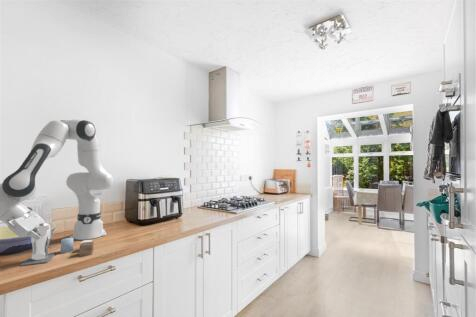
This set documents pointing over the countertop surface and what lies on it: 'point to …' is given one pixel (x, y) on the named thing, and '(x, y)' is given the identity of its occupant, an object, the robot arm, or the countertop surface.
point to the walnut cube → (86, 248)
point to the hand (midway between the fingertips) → (43, 235)
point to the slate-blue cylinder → (67, 245)
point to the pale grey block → (86, 241)
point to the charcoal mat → (30, 262)
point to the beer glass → (41, 242)
